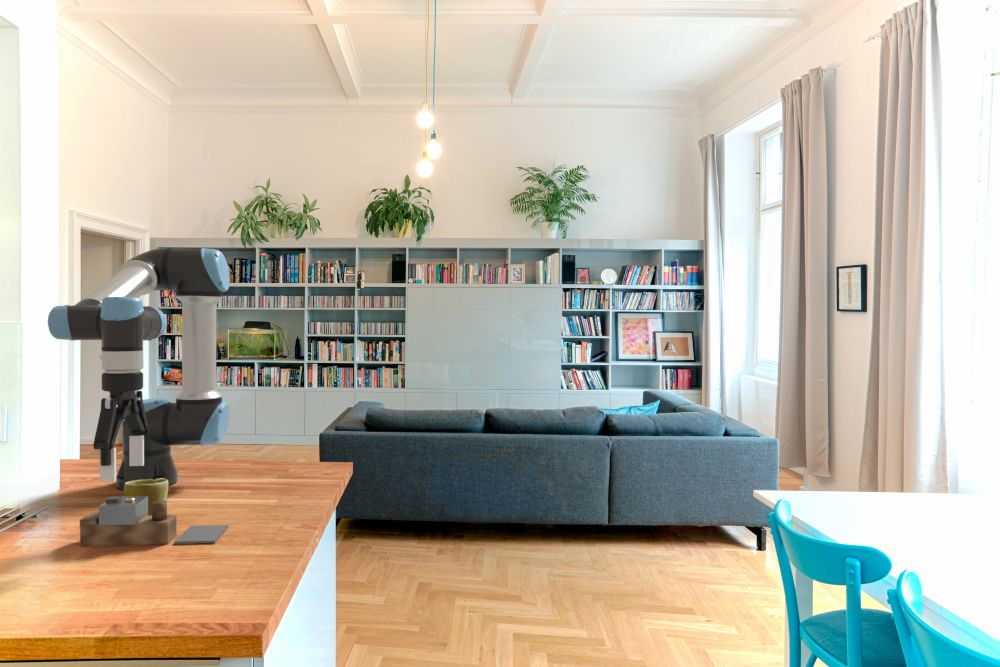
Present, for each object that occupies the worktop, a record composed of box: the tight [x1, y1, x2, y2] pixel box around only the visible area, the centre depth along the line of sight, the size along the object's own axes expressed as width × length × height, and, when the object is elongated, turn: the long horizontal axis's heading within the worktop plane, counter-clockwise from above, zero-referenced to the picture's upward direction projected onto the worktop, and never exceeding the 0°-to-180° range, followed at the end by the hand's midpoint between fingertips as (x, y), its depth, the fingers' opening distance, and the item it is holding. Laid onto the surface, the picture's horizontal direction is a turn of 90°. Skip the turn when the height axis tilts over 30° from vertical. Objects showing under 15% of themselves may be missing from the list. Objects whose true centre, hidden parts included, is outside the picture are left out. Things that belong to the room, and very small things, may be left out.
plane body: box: [79, 501, 177, 547], centre depth 140 cm, size 17×5×8 cm, turn 97°
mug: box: [123, 478, 169, 516], centre depth 158 cm, size 12×10×10 cm
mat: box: [174, 524, 229, 545], centre depth 144 cm, size 10×8×1 cm
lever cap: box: [98, 495, 148, 525], centre depth 140 cm, size 7×6×5 cm
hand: (123, 473), depth 139 cm, fingers open, 13 cm apart
